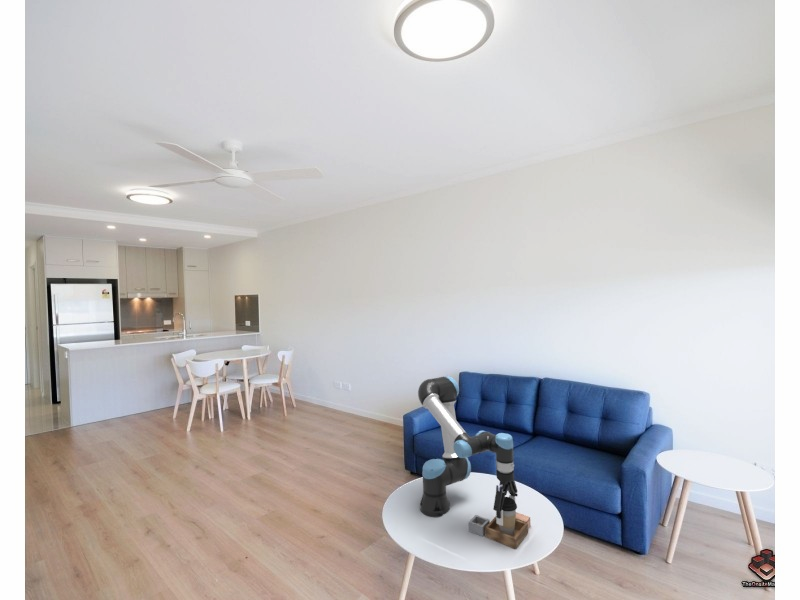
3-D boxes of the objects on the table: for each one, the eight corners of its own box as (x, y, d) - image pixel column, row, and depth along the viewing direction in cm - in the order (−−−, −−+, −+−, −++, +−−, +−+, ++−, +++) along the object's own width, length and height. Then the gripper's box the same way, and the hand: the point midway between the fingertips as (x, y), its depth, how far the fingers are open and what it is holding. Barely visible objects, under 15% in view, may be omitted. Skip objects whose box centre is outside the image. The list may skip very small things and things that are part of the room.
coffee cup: (518, 542, 166) (517, 507, 166) (496, 540, 168) (495, 505, 168) (516, 529, 175) (515, 496, 175) (495, 527, 177) (494, 494, 177)
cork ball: (474, 530, 176) (474, 523, 176) (477, 527, 178) (477, 520, 178) (480, 532, 174) (480, 526, 174) (483, 529, 176) (483, 523, 176)
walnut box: (485, 538, 171) (485, 527, 171) (499, 523, 181) (498, 513, 181) (515, 551, 162) (515, 539, 162) (528, 534, 173) (527, 523, 173)
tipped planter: (511, 527, 178) (511, 517, 178) (515, 522, 182) (515, 512, 182) (526, 533, 174) (526, 522, 174) (530, 527, 177) (530, 517, 177)
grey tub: (468, 532, 175) (468, 521, 175) (476, 525, 181) (475, 514, 181) (482, 538, 171) (482, 527, 171) (489, 530, 176) (489, 519, 176)
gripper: (501, 483, 159) (502, 534, 159) (523, 461, 179) (525, 507, 179) (484, 478, 164) (485, 527, 164) (508, 458, 183) (509, 502, 184)
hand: (506, 517), depth 172 cm, fingers open, 13 cm apart
